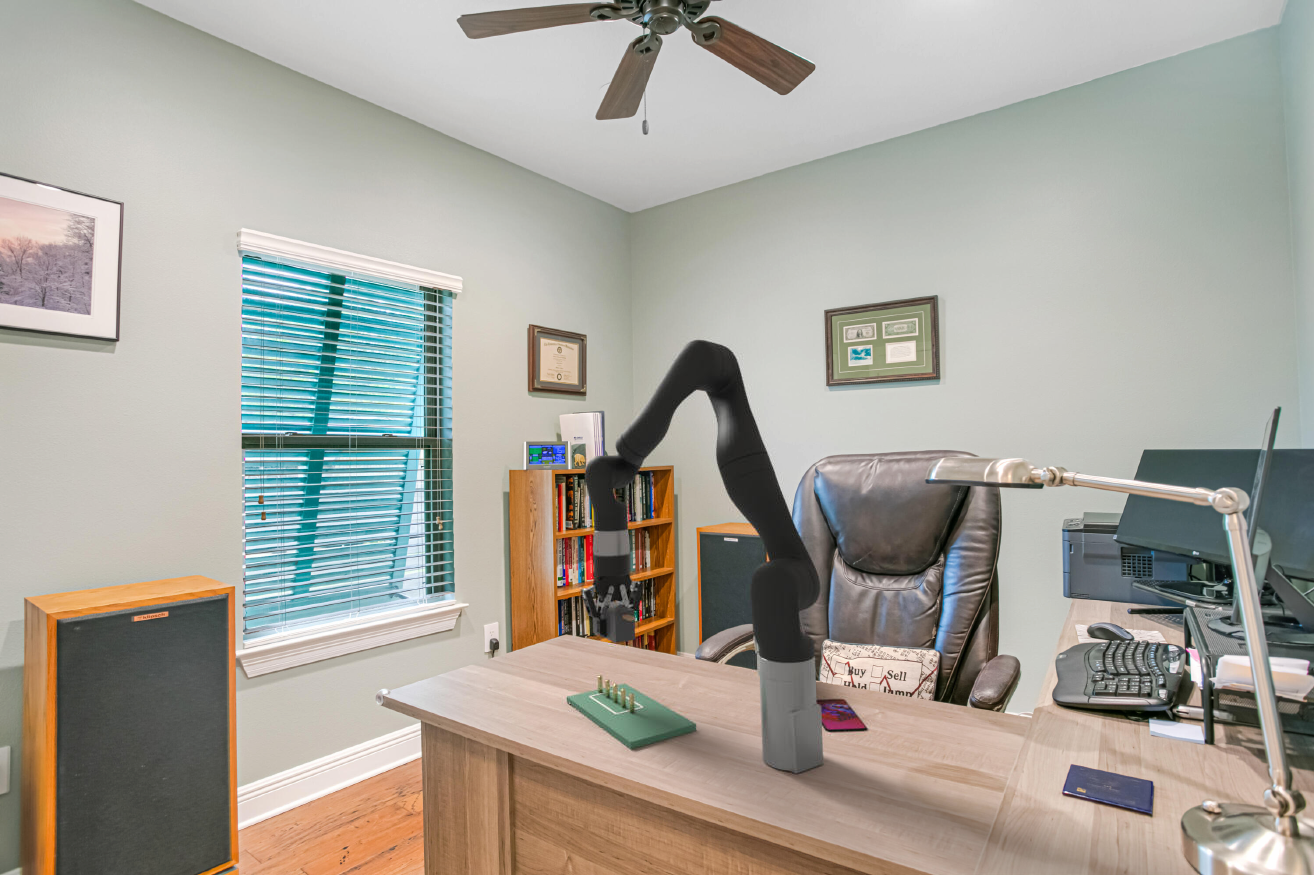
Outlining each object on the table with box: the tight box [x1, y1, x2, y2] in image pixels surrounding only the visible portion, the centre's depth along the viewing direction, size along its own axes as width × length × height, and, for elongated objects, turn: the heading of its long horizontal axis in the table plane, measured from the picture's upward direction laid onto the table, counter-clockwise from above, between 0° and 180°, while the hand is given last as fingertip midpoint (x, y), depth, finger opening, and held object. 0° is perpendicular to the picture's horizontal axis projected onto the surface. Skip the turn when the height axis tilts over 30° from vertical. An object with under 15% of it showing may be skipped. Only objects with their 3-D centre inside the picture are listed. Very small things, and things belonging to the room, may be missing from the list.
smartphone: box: [816, 698, 867, 733], centre depth 129 cm, size 8×1×15 cm
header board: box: [566, 683, 697, 750], centre depth 132 cm, size 28×14×1 cm, turn 31°
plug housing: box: [592, 601, 636, 644], centre depth 136 cm, size 13×4×6 cm, turn 31°
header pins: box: [597, 674, 635, 713], centre depth 137 cm, size 15×1×4 cm, turn 31°
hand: (613, 634), depth 137 cm, fingers closed on plug housing, 4 cm apart
